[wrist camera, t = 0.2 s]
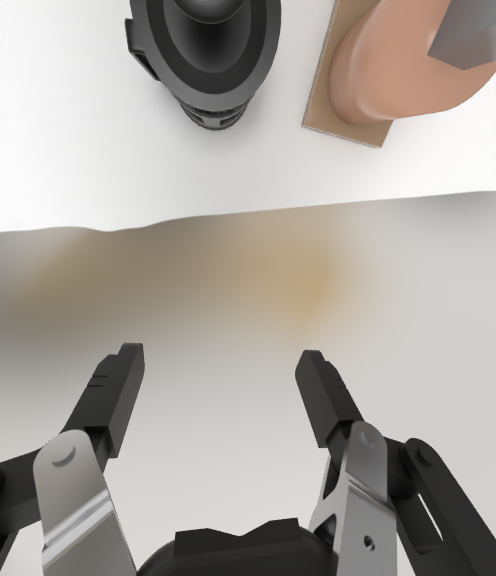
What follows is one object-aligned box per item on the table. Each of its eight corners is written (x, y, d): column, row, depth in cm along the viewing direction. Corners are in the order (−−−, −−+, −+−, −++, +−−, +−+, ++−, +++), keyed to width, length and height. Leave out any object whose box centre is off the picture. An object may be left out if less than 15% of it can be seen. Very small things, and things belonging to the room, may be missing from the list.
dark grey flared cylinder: (259, 37, 26) (384, -286, 7) (251, 134, 31) (311, 112, 12) (153, 18, 24) (-95, -491, 5) (163, 124, 29) (58, 78, 10)
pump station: (340, -16, 25) (741, -549, 6) (427, 23, 27) (905, -258, 8) (301, 126, 31) (431, 93, 12) (375, 147, 34) (575, 147, 15)
